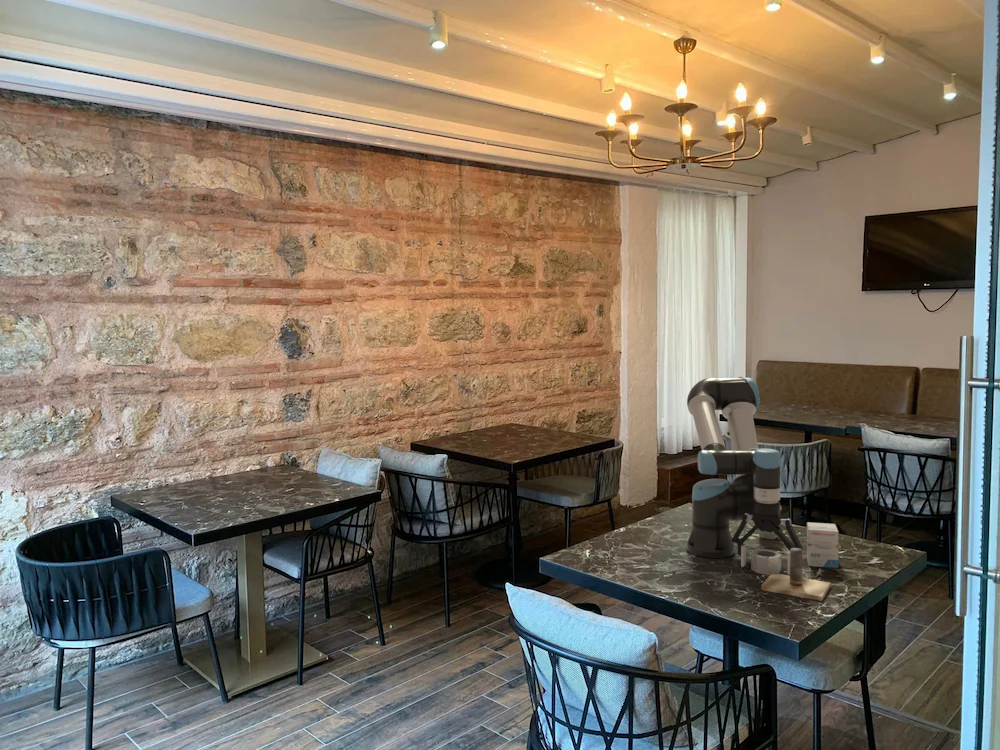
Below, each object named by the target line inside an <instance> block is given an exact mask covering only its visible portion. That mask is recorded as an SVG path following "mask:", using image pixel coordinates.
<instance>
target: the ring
mask: <svg viewBox="0 0 1000 750" xmlns="http://www.w3.org/2000/svg"><path fill="white" fill-rule="evenodd" d="M750 555H751V559H750V568H751V570H752V571H753V572H755V573H757V574H759V575H761V574H762V575H767V576H770V575H771V574H772V573H777V574H781V573H780V572H781V571H782V553H781V552H778V551H776V550H771V549H766V548H764V549H763V548H762V549H754V550H753V551H752V552H751V554H750Z"/></svg>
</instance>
